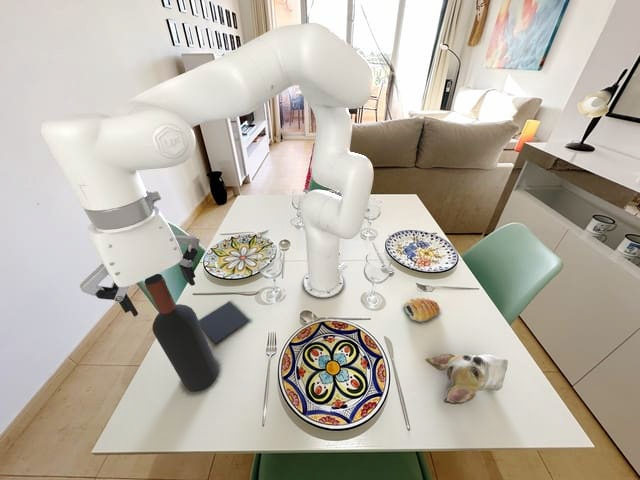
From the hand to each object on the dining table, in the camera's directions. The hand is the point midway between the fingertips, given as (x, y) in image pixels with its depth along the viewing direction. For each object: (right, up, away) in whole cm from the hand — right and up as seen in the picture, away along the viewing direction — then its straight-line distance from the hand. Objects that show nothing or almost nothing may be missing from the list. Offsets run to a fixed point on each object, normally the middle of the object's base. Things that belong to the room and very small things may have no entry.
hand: (163, 295), depth 48 cm
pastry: (+56, -11, +29) cm, 64 cm away
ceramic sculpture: (+60, -22, +12) cm, 65 cm away
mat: (+1, -13, +27) cm, 30 cm away
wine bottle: (0, -22, +15) cm, 26 cm away
